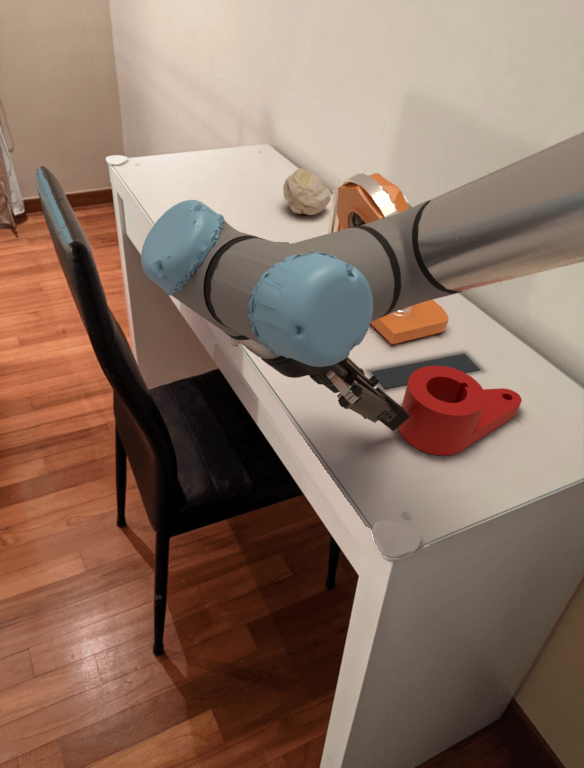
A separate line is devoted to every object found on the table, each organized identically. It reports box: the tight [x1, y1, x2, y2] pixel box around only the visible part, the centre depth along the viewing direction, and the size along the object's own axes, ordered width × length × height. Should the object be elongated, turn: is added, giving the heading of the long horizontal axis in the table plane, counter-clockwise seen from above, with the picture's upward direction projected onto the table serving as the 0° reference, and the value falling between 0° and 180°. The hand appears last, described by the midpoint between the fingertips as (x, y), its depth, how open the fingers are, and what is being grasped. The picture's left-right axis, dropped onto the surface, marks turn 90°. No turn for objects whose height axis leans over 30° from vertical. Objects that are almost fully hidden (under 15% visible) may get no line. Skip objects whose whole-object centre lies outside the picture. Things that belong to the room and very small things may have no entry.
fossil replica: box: [282, 167, 332, 216], centre depth 125 cm, size 12×8×10 cm
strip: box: [370, 353, 481, 390], centre depth 88 cm, size 4×16×1 cm, turn 112°
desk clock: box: [327, 172, 449, 345], centre depth 98 cm, size 12×30×20 cm, turn 27°
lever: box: [397, 366, 523, 456], centre depth 78 cm, size 18×9×7 cm, turn 115°
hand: (398, 419), depth 75 cm, fingers closed
